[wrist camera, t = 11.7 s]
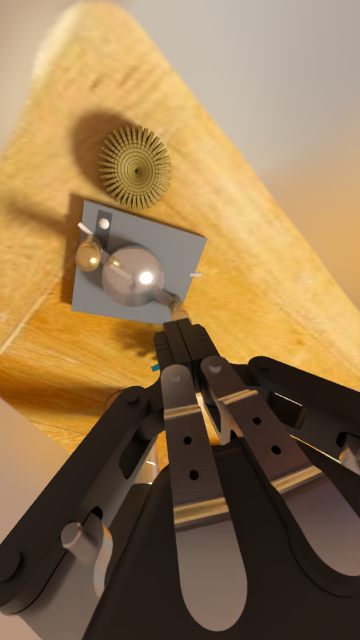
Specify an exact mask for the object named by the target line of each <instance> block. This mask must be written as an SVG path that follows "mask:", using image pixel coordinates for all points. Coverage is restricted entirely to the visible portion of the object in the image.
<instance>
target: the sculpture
mask: <svg viewBox="0 0 360 640" xmlns="http://www.w3.org/2000/svg"><path fill="white" fill-rule="evenodd" d="M118 129H119V133H120V136H121V138H122V140H121V138H120V136H119V135H118V133H117V132H116V130H115V129H114V130H113V131H112V132H113V134H114V136H115V138H116V140H117V142H118V143H117V142H116V141H115V139H114V138H113V137H112V136H111V135H110V134H108V136H107V137H108V138H109V139H110V141H111V142H112V144H113V145H114V146H115V148H116V149H115V148H114V147H113V146H112V145H111V144H110V143H109V142H108V141H107V140H104V141H103V142H104V143H105V144H106V145H107V146H108V147H109V148H110V149H111V150H112V151H113V152H114V153H115V154H116V155H115V154H114V153H112V152H111V151H109V150H108V149H106V148H105V147H103V146H101V148H100V149H101V150H103V151H104V152H105V153H107V154H108V155H110V156H111V157H113V158H114V159H113V158H110V157H108V156H106V155H103V154H101V153H99V157H101V158H104V159H106V160H108V161H110V162H113V163H115V164H112V163H107V162H103V161H99V160H98V164H101V165H105V166H109V167H114V168H98V169H99V172H116V173H110V174H105V175H100V178H101V179H105V178H111V177H114V178H112V179H109V180H107V181H105V182H103V183H102V184H103V186H105V185H108V184H111V183H113V184H112V185H111V186H109V187H108V188H107V189H106V191H107V192H109V191H111V190H113V189H114V188H116V189H115V190H114V191H113V192H112V193H111V194H110V196H111V197H114V196H115V195H116V194H117V193H118V192H119V191H120V192H119V193H118V195H117V196H116V198H115V201H116V202H118V201H119V200H120V198H121V197H122V199H121V202H120V205H122V206H123V204H124V203H125V201H126V199H127V201H126V208H129V205H130V202H131V209H133V210H134V209H135V203H136V206H137V210H140V201H141V205H142V208H143V210H144V209H146V206H145V201H146V204H147V206H148V208H150V207H151V204H150V201H151V202H152V204H153V205H156V203H155V200H154V198H155V199H156V200H157V201H158V202H159V201H160V199H159V197H158V196H157V194H156V193H155V192H157V193H158V194H159V195H160V196H161V197H162V198H163V196H164V195H163V193H162V192H161V191H160V190H159V189H158V188H160V189H161V190H163V191H164V192H167V189H165V188H164V187H163V186H161V185H160V184H158V183H157V182H159V183H161V184H164V185H166V186H168V187H169V185H170V184H169V183H167V182H165V181H163V180H160V179H158V178H163V179H167V180H171V177H168V176H164V175H160V174H156V173H171V170H157V169H160V168H165V167H169V166H171V164H170V163H165V164H159V163H162V162H164V161H166V160H168V159H170V158H169V155H168V156H165V157H163V158H160V157H161V156H162V155H164V154H165V153H166V152H167V150H166V149H164V150H162V151H160V152H159V153H157V152H158V151H159V150H160V149H161V147H163V145H164V144H163V143H162V142H161V143H160V144H159V145H158V146H156V144H157V142H158V141H159V138H158V137H156V138H155V139H154V140H153V142H152V143H151V141H152V138H153V136H154V133H153V132H152V131H151V132H150V134H149V136H148V138H147V133H148V129H147V128H145V129H144V131H143V135H142V138H141V134H142V127H141V126H139V125H138V129H137V136H136V133H135V132H136V130H135V125H132V124H131V134H130V130H129V127H128V125H125V133H126V136H125V134H124V131H123V129H122V127H121V126H120V127H119V128H118ZM126 138H127V139H126ZM146 138H147V140H146ZM122 141H123V142H122ZM118 144H119V145H118ZM133 146H134V147H133ZM155 146H156V147H155ZM154 147H155V148H154ZM156 153H157V154H156ZM155 154H156V155H155ZM158 158H160V159H158ZM115 159H116V160H115ZM157 159H158V160H157ZM116 164H117V165H116ZM157 164H159V165H157ZM115 168H118V169H115ZM156 177H158V178H156ZM156 181H157V182H156ZM114 182H115V183H114ZM156 186H157V187H158V188H157V187H156ZM147 189H148V190H147ZM122 195H123V196H122ZM152 195H153V196H154V198H153V196H152ZM148 197H149V198H148ZM144 199H145V200H144ZM149 199H150V201H149Z"/></svg>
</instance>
